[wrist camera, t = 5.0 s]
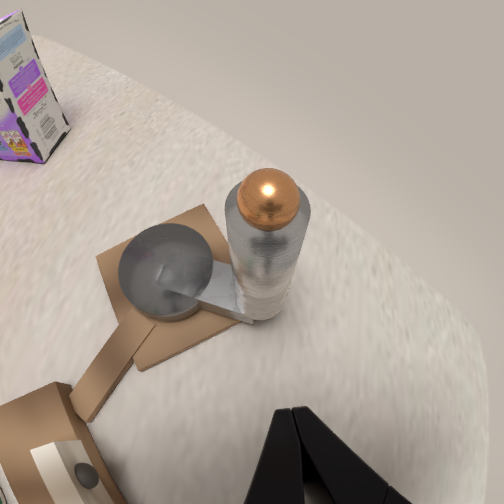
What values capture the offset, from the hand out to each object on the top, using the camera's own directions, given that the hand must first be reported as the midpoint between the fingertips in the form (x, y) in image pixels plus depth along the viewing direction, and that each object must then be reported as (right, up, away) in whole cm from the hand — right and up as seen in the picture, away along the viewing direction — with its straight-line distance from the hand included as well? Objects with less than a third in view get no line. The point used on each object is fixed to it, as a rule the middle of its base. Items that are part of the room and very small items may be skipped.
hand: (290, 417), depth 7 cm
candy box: (-28, +17, +21) cm, 40 cm away
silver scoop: (-4, +2, +12) cm, 13 cm away
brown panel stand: (-9, -6, +9) cm, 14 cm away
